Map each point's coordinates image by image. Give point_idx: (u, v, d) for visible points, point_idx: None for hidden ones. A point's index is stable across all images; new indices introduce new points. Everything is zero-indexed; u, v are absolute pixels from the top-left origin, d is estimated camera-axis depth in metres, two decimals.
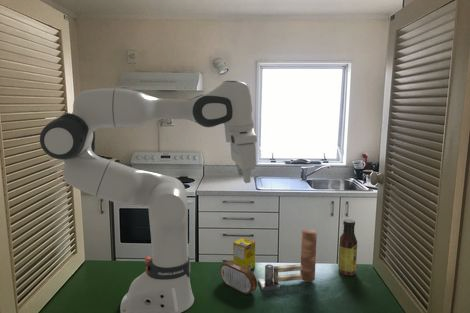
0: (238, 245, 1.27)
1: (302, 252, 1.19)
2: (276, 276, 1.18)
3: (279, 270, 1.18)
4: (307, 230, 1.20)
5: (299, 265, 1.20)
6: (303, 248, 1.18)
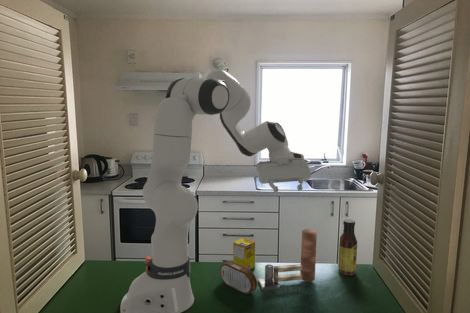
0: (238, 245, 1.27)
1: (302, 252, 1.19)
2: (276, 276, 1.18)
3: (279, 270, 1.18)
4: (307, 230, 1.20)
5: (299, 265, 1.20)
6: (303, 248, 1.18)
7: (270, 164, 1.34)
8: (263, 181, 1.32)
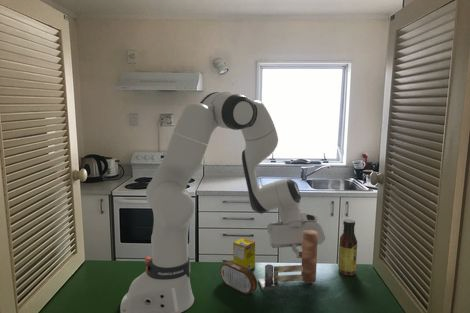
0: (238, 245, 1.27)
1: (303, 253, 1.18)
2: (276, 276, 1.18)
3: (279, 270, 1.18)
4: (308, 231, 1.19)
5: (300, 266, 1.19)
6: (304, 249, 1.17)
7: (282, 227, 1.26)
8: (274, 246, 1.23)
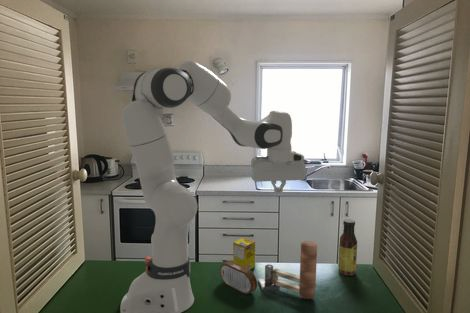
0: (238, 245, 1.27)
1: None
2: (274, 278, 1.17)
3: (276, 274, 1.16)
4: (309, 243, 1.09)
5: (298, 277, 1.12)
6: (300, 259, 1.10)
7: (266, 164, 1.25)
8: None
